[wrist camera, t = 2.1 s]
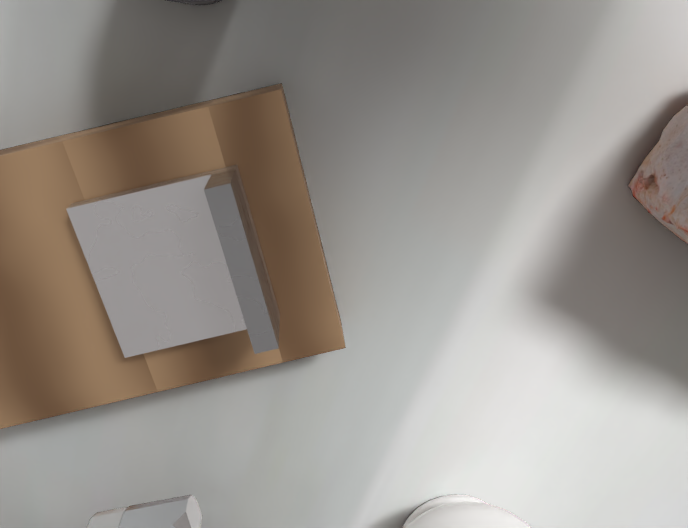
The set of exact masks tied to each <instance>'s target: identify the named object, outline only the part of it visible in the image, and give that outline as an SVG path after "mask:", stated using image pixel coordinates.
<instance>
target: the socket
mask: <svg viewBox="0 0 688 528" xmlns="http://www.w3.org/2000/svg"><path fill="white" fill-rule="evenodd" d="M233 165H238V169H239V172H240V176H241V180H242V183H243V187H244V190H245V194H246V197H247V201H248V204H249V208H250V211H251V215H252V218H253V222H254V225H255V229H256V232H257V236H258V239H259V243H260V246H261V250H262V253H263V257H264V260H265V264H266V267H267V271H268V274H269V278H270V281H271V285H272V288H273V292H274V295H275V299H276V302H277V306H278V309H279V313H280V325H279V349H274V350H270V351H266V352H261V353H257V354H254V350H253V347H252V344H251V341H250V337H249V334H248V331H247V329H246V330H242V331H237V332H233V333H229V334H225V335H220V336H216V337H212V338H208V339H203V340H199V341H195V342H191V343H186V344H182V345H178V346H174V347H169V348H165V349H161V350H157V351H152V352H148V353H144V354H140V355H135V356H131V357H127V358H125V357H124V354H123V352H122V349H121V347H120V344H119V342H118V339H117V337H116V334H115V332H114V329H113V327H112V324H111V321H110V319H109V316H108V314H107V311H106V309H105V306H104V304H103V301H102V299H101V296H100V294H99V291H98V289H97V286H96V283H95V281H94V278H93V276H92V273H91V271H90V268H89V266H88V263H87V261H86V258H85V256H84V253H83V250H82V248H81V245H80V243H79V240H78V238H77V235H76V233H75V230H74V228H73V225H72V223H71V220H70V217H69V215H68V212H67V210H66V208H68V207H69V206H70V205H71V204H72V203H76V202H81V201H85V200H89V199H93V198H97V197H102V196H106V195H110V194H114V193H119V192H123V191H127V190H131V189H136V188H140V187H144V186H148V185H152V184H157V183H161V182H165V181H169V180H174V179H178V178H182V177H186V176H190V175H195V174H199V173H203V172H207V171H212V170H216V169H220V168H224V167H229V166H233ZM343 348H345V342H344V336H343V330H342V324H341V320H340V316H339V312H338V308H337V304H336V300H335V296H334V292H333V288H332V284H331V280H330V276H329V272H328V268H327V264H326V260H325V256H324V252H323V247H322V243H321V239H320V235H319V231H318V227H317V223H316V219H315V215H314V211H313V207H312V203H311V199H310V195H309V191H308V187H307V183H306V179H305V175H304V171H303V167H302V163H301V159H300V155H299V151H298V147H297V143H296V139H295V135H294V131H293V127H292V123H291V119H290V115H289V111H288V106H287V102H286V98H285V94H284V90H283V86H282V83H281V84H277V85H272V86H268V87H264V88H260V89H256V90H251V91H247V92H243V93H239V94H234V95H230V96H226V97H222V98H218V99H213V100H209V101H205V102H201V103H197V104H192V105H188V106H184V107H180V108H175V109H171V110H167V111H163V112H159V113H154V114H150V115H146V116H142V117H137V118H133V119H129V120H125V121H121V122H116V123H112V124H108V125H104V126H100V127H95V128H91V129H87V130H83V131H78V132H74V133H70V134H66V135H62V136H57V137H53V138H49V139H45V140H40V141H36V142H32V143H28V144H24V145H19V146H15V147H11V148H7V149H3V150H0V429H2V428H6V427H11V426H15V425H19V424H24V423H28V422H32V421H36V420H41V419H45V418H49V417H53V416H58V415H62V414H66V413H70V412H75V411H79V410H83V409H87V408H92V407H96V406H100V405H104V404H109V403H113V402H117V401H121V400H126V399H130V398H134V397H138V396H143V395H147V394H151V393H155V392H160V391H164V390H168V389H172V388H177V387H181V386H185V385H189V384H194V383H198V382H202V381H206V380H211V379H215V378H219V377H223V376H228V375H232V374H236V373H241V372H245V371H249V370H253V369H258V368H262V367H266V366H270V365H275V364H279V363H283V362H287V361H292V360H296V359H300V358H304V357H309V356H313V355H317V354H321V353H326V352H330V351H334V350H338V349H343Z"/></svg>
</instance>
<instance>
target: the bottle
mask: <svg viewBox="0 0 688 528" xmlns="http://www.w3.org/2000/svg"><path fill="white" fill-rule="evenodd" d="M167 1H174V2H181V3H187V4H195V5H207V4H213V3H216V2H219V1H221V0H167Z"/></svg>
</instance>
